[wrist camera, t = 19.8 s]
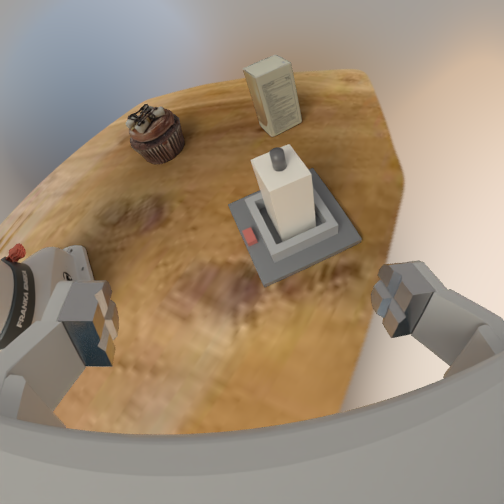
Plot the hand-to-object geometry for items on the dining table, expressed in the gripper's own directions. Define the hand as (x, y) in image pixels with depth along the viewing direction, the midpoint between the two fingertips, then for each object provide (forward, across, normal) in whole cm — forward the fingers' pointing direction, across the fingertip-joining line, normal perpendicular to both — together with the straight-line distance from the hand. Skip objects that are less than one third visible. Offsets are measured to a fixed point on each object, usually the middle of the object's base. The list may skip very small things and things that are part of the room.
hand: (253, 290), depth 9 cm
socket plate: (+27, -10, +13) cm, 31 cm away
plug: (+26, -10, +12) cm, 31 cm away
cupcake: (+49, +7, +9) cm, 51 cm away
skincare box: (+44, -13, +3) cm, 46 cm away
